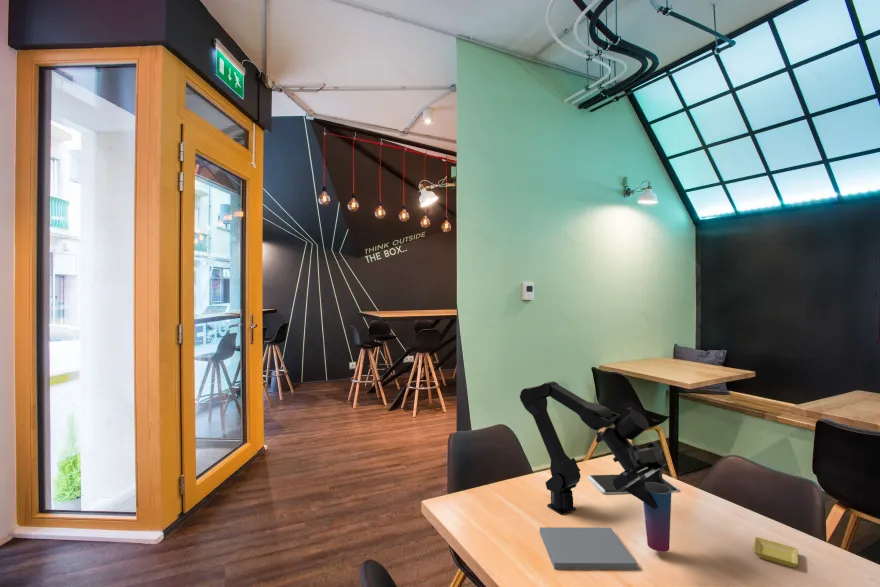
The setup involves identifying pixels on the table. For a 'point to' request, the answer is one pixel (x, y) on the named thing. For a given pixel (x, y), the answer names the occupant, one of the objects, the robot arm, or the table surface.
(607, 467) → the table surface
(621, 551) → the board
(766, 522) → the table surface
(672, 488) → the black tablet
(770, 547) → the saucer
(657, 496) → the cup
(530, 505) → the table surface
